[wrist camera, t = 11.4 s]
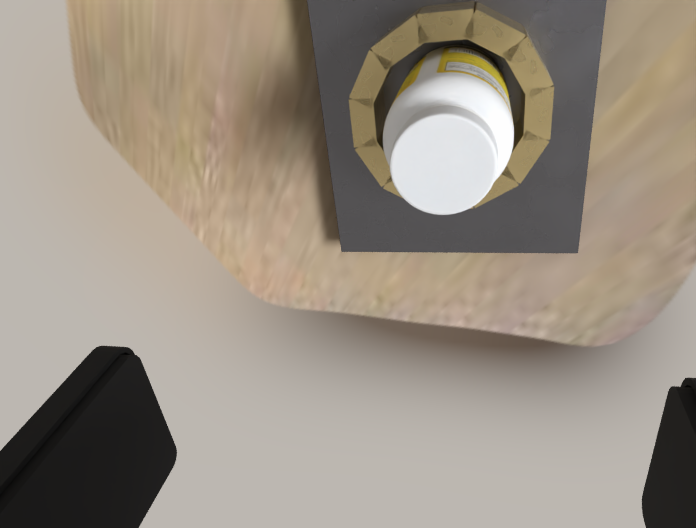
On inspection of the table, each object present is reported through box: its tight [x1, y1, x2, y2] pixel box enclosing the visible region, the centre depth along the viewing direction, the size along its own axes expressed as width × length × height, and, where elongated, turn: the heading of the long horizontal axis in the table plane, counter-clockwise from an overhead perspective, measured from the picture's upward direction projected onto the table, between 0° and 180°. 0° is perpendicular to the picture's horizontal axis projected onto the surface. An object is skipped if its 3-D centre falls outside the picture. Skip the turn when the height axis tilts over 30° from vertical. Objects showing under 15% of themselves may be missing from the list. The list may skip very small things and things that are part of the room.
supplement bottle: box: [383, 45, 514, 215], centre depth 24 cm, size 5×5×10 cm
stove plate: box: [307, 0, 606, 253], centre depth 28 cm, size 18×14×4 cm
